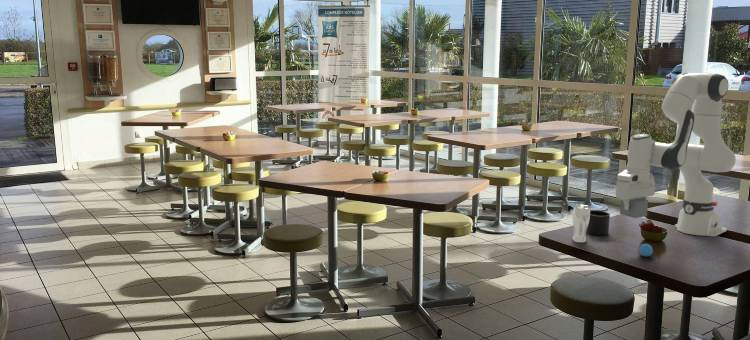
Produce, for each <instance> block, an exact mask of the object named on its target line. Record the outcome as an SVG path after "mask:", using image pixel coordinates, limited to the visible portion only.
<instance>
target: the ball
mask: <svg viewBox="0 0 750 340" xmlns="http://www.w3.org/2000/svg"><path fill="white" fill-rule="evenodd" d="M638 252H639V254H640V255H641V256H643V257H650V256H651V255H652V254H653V253H654V251H653V247H652V245H650V244H648V243H642V244H640V246H639V248H638Z"/></svg>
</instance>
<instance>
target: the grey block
mask: <svg viewBox="0 0 750 340" xmlns="http://www.w3.org/2000/svg"><path fill="white" fill-rule="evenodd" d="M629 205H630V206H631V207H630V210H625V209H624V206H625V205H624V203H623V200H620V208H619V209H620V210H619V215H622V216H626V217H630V218H634V219H638V218H642V217H643V218H644V217H647V215H648V206H649V199H647V200H646V199H642V198H635V199H630V202H629Z"/></svg>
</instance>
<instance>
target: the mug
mask: <svg viewBox="0 0 750 340" xmlns="http://www.w3.org/2000/svg"><path fill="white" fill-rule="evenodd" d="M610 217H611V214H610V213H609V212H608V211H607V212H606V211H602V210H590V221H589V225H588V229H587V234H588V235H590V236H596V237H604V236H607V235H609V232H610V231H609V230H610Z"/></svg>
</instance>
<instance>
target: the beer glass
mask: <svg viewBox="0 0 750 340" xmlns="http://www.w3.org/2000/svg"><path fill="white" fill-rule="evenodd" d="M572 211H573V212H572V227H573V235H572V239H571V241H572V242H575V243H578V244H584V243H585V242H586V243H587V242H588V237H587V236H588V235H587V234H588V233H587V229H588V225H589V221H590V211H591V206H589V205H586V204H575V205H573V210H572Z"/></svg>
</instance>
